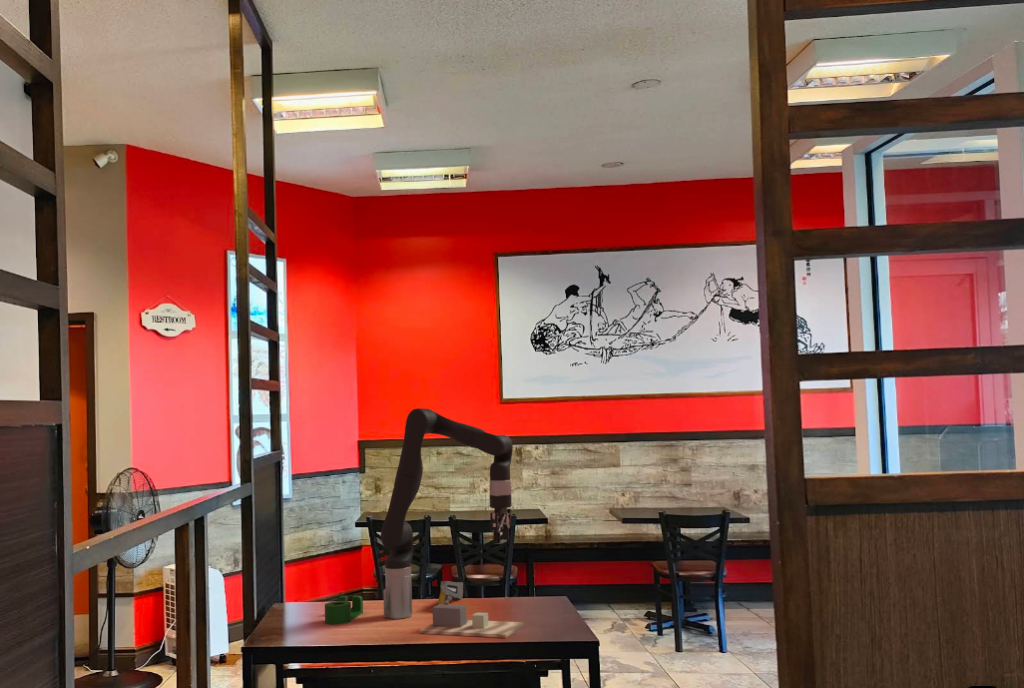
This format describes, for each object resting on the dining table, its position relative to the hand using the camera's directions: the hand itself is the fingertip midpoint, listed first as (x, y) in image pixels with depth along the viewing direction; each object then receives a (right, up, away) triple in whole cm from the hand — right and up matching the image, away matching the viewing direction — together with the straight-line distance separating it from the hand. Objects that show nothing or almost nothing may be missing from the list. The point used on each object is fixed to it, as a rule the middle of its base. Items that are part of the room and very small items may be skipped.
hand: (501, 541), depth 270 cm
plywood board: (-9, -26, -11) cm, 30 cm away
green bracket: (-57, -31, +13) cm, 66 cm away
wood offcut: (-7, -25, -12) cm, 28 cm away
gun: (-20, -32, +30) cm, 48 cm away
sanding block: (-17, -26, -8) cm, 32 cm away
